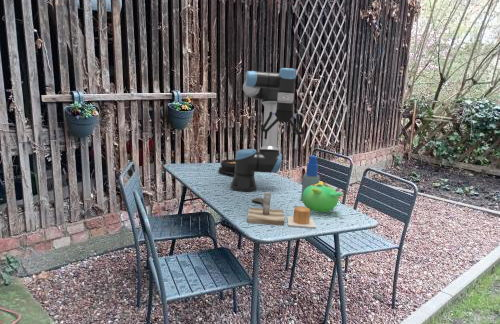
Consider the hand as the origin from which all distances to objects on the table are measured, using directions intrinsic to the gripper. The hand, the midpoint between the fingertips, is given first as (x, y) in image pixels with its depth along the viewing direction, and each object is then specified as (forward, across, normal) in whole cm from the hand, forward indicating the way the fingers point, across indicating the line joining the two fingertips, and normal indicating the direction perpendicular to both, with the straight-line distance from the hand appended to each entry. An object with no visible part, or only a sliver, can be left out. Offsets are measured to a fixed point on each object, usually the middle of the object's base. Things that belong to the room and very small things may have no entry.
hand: (281, 147), depth 182 cm
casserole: (+32, -28, +77) cm, 88 cm away
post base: (+32, -5, -12) cm, 34 cm away
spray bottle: (+32, +19, +23) cm, 44 cm away
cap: (+31, +11, -15) cm, 36 cm away
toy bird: (+32, +22, +5) cm, 39 cm away
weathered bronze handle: (+32, -6, +6) cm, 34 cm away
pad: (+32, +11, -15) cm, 37 cm away
